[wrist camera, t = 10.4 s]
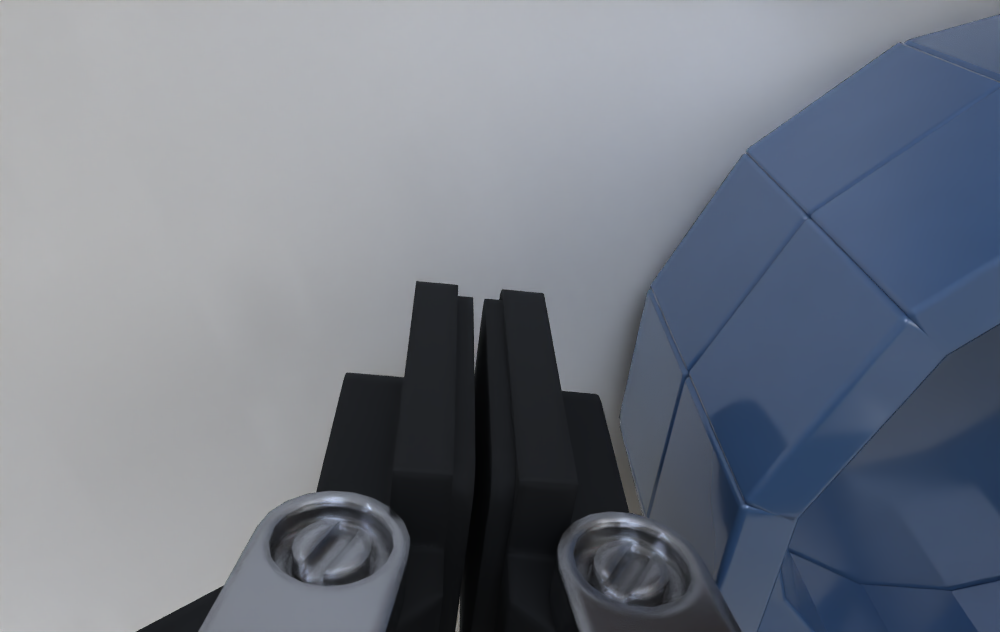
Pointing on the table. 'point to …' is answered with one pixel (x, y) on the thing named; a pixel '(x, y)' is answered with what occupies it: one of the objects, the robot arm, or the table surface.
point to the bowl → (840, 358)
